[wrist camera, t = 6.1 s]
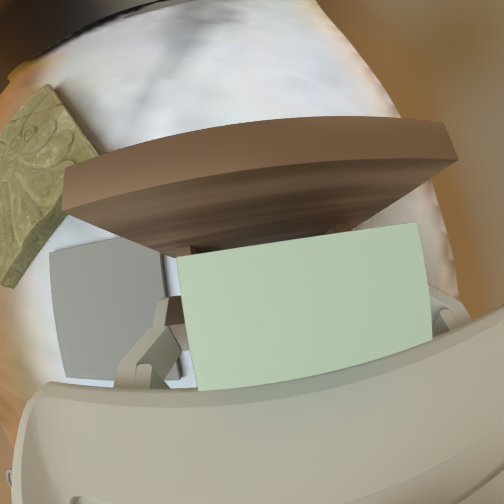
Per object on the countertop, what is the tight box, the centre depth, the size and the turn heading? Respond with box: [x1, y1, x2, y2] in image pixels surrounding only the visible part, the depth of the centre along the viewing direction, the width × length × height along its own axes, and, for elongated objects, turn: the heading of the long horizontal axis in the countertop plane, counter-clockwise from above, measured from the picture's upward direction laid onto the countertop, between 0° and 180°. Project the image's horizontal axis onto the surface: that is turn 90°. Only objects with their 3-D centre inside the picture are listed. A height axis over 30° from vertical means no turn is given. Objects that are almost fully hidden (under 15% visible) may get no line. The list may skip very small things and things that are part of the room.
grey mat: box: [49, 237, 181, 381], centre depth 20 cm, size 12×12×1 cm
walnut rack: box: [61, 116, 458, 388], centre depth 14 cm, size 14×14×14 cm
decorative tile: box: [0, 84, 100, 289], centre depth 21 cm, size 19×20×4 cm
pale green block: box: [176, 222, 432, 391], centre depth 13 cm, size 3×5×16 cm, turn 99°
